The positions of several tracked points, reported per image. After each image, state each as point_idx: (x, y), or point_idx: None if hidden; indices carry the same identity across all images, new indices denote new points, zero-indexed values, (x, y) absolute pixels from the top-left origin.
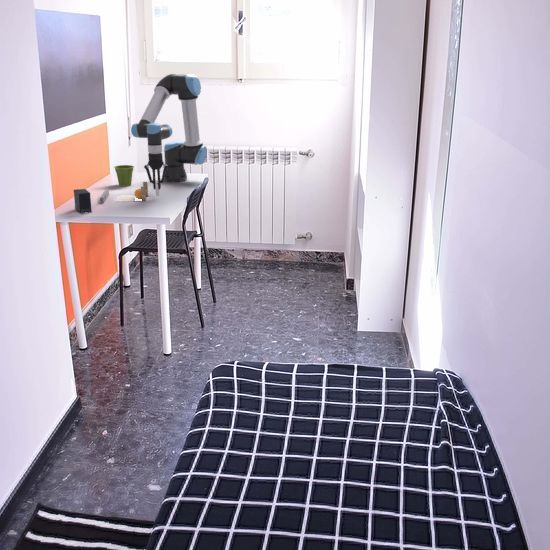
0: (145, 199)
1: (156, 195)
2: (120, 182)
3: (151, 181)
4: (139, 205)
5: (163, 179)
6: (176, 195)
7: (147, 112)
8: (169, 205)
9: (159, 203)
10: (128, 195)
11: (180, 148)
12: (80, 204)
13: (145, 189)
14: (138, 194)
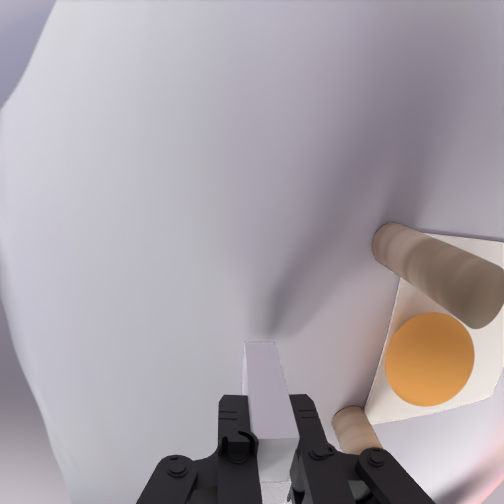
0: (385, 236)
1: (268, 343)
2: None
3: (367, 464)
4: (424, 86)
5: (146, 495)
6: (101, 413)
7: None
8: (131, 38)
9: (233, 123)
10: (451, 408)
11: None
12: None
13: (370, 446)
14: (449, 318)
